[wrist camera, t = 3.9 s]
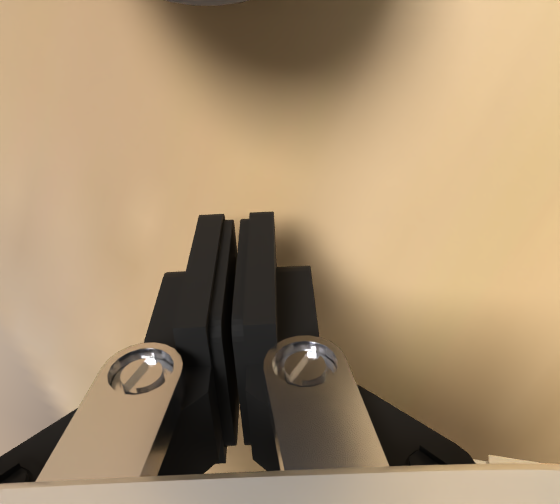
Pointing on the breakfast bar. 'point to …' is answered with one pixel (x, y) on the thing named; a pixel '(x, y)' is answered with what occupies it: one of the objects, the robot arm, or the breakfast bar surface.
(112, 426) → the robot arm
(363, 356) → the breakfast bar surface
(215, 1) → the gray ball
